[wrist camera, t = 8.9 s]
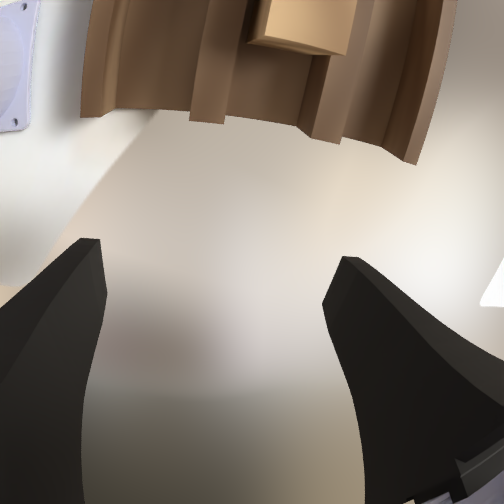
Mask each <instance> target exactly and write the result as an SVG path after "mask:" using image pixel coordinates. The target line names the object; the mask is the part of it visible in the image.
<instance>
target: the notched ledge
mask: <svg viewBox="0 0 504 504" xmlns="http://www.w3.org/2000/svg"><path fill="white" fill-rule="evenodd" d="M254 2H255V0H94V1H93V5H92V11H91V16H90V22H89V28H88V34H87V41H86V49H85V57H84V66H83V77H82V91H81V113H80V118H89V117H102V116H103V115H105V114H107V113H108V112H110V111H112V110H113V109H115V108H138V109H162V110H178V111H190V117H189V121H197V122H207V123H217V124H224V119H225V115H228V116H237V117H243V118H250V119H257V120H263V121H269V122H275V123H281V124H287V125H292V126H297V127H298V128H299V129H300V130H301V131H303V132H304V133H305V134H306V135H307V136H309V137H310V138H312V139H317V140H322V141H326V142H331V143H335V144H340V141H341V137H346V138H350V139H354V140H358V141H362V142H366V143H369V144H373V145H376V146H380V147H382V148H383V149H385V150H387V151H388V152H390V153H391V154H393V155H394V156H396V157H397V158H399V159H400V160H402V161H403V162H407V163H410V164H413V165H416V164H417V161H418V158H419V155H420V153H421V150H422V146H423V144H424V141H425V138H426V134H427V131H428V128H429V124H430V121H431V118H432V115H433V111H434V108H435V105H436V101H437V97H438V94H439V90H440V86H441V82H442V78H443V74H444V70H445V65H446V61H447V57H448V52H449V47H450V42H451V36H452V32H453V26H454V19H455V13H456V7H457V0H357V4H356V9H355V14H354V19H353V24H352V29H351V34H350V38H349V43H348V48H347V52H346V56H342V55H303V54H299V53H295V52H291V51H286V50H281V49H276V48H271V47H266V46H260V45H255V44H248V43H246V42H247V37H248V32H249V27H250V22H251V17H252V12H253V7H254Z"/></svg>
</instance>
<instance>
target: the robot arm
mask: <svg viewBox="0 0 504 504" xmlns="http://www.w3.org/2000/svg"><path fill="white" fill-rule="evenodd" d="M26 4H27V8H26V9H25V10H23V8H24V6H25V5H26ZM40 4H41V1H40V0H21V1H17V2H14V3H11V4H8V5H5V6H2V7H0V132H7V131H16V130H23V129H25V128H27V127H28V126H29V124H30V97H31V73H32V60H33V50H34V41H35V34H36V27H37V21H38V15H39V9H40ZM15 118H16V119H17V120H18V125H16V124H15ZM106 298H107V288H106V282H105V275H104V268H103V261H102V253H101V244H100V239H89V238H80V239H79V240H77V241H76V242H75V243H73V244H72V245H71V246H70V247H69V248H68V249H66V250H65V251H64V252H63V253H62V254H61V255H60V256H59V257H57V258H56V259H55V260H54V261H53V262H52V263H51V264H50V265H48V266H47V267H46V268H45V269H44V270H43V271H42V272H41V273H40V274H39V275H37V276H36V277H35V278H34V279H33V280H32V281H31V282H30V283H28V284H27V285H26V286H25V287H24V288H23V289H22V290H20V291H19V292H18V293H17V294H16V295H15V296H14V297H13V298H12V299H10V300H9V301H8V302H7V303H6V304H5V305H3V306H2V307H1V308H0V504H85V501H84V493H83V484H82V467H81V429H82V414H83V403H84V396H85V390H86V384H87V380H88V376H89V372H90V368H91V364H92V360H93V356H94V352H95V348H96V345H97V341H98V337H99V333H100V330H101V326H102V322H103V316H104V310H105V305H106ZM322 306H323V311H324V316H325V320H326V324H327V328H328V332H329V335H330V337H331V340H332V343H333V345H334V348H335V351H336V354H337V356H338V359H339V362H340V364H341V367H342V370H343V372H344V375H345V378H346V380H347V383H348V386H349V389H350V392H351V395H352V399H353V403H354V407H355V411H356V416H357V421H358V426H359V432H360V438H361V443H362V452H363V461H364V473H365V504H403V503H406V502H408V501H410V500H413V499H414V502H415V504H504V361H503V360H501V359H499V358H497V357H495V356H493V355H491V354H489V353H488V352H486V351H484V350H482V349H481V348H479V347H477V346H476V345H474V344H472V343H470V342H469V341H468V340H466V339H464V338H463V337H461V336H460V335H458V334H457V333H456V332H454V331H453V330H451V329H450V328H448V327H447V326H446V325H444V324H443V323H442V322H440V321H439V320H438V319H436V318H435V317H434V316H432V315H431V314H430V313H429V312H427V311H426V310H425V309H424V308H422V307H421V306H420V305H418V304H417V303H416V302H415V301H414V300H412V299H411V298H410V297H409V296H407V295H406V294H405V293H404V292H403V291H402V290H400V289H399V288H398V287H397V286H396V285H394V284H393V283H392V282H391V281H390V280H388V279H387V278H386V277H385V276H383V275H382V274H381V273H380V272H378V271H377V270H376V269H374V268H373V267H372V266H370V265H369V264H368V263H366V262H365V261H364V260H362V259H360V258H359V257H347V256H342V258H341V261H340V263H339V266H338V268H337V270H336V273H335V275H334V277H333V280H332V282H331V284H330V286H329V289H328V291H327V293H326V296H325V298H324V300H323V303H322Z"/></svg>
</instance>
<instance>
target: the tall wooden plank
mask: <svg viewBox="0 0 504 504" xmlns="http://www.w3.org/2000/svg"><path fill="white" fill-rule="evenodd" d="M356 4H357V0H255V2H254V7H253V12H252V17H251V22H250V27H249V32H248V37H247V42H246V43H248V44H255V45H260V46H266V47H271V48H276V49H281V50H286V51H291V52H295V53H299V54H303V55H342V56H346V52H347V48H348V43H349V38H350V34H351V29H352V24H353V19H354V14H355V9H356Z"/></svg>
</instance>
